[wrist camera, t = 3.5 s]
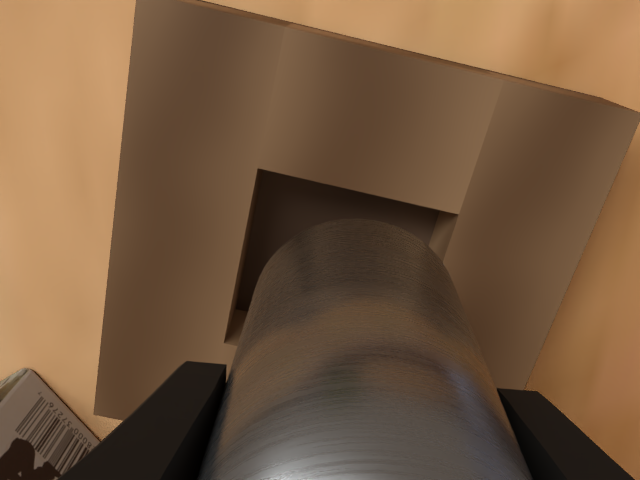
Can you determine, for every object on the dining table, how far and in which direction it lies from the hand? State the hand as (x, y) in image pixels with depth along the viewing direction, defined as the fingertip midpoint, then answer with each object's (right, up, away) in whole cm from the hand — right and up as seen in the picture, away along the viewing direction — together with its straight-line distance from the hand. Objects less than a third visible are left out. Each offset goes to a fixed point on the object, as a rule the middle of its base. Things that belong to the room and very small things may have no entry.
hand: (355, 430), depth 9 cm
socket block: (0, +3, +9) cm, 10 cm away
